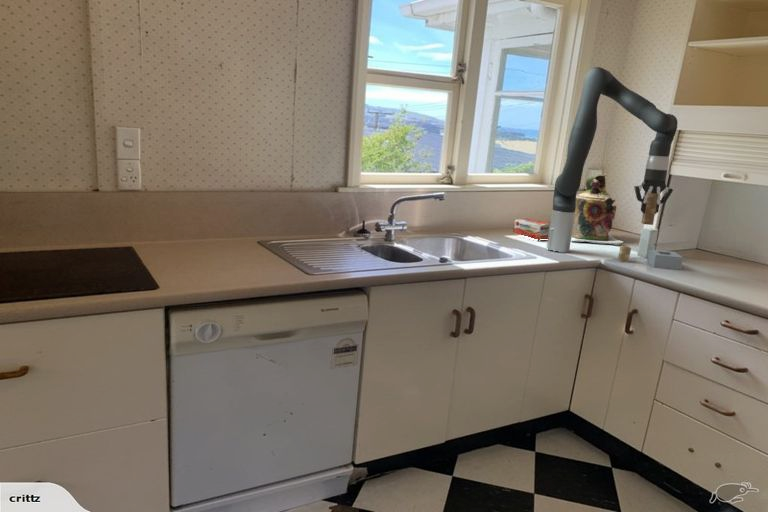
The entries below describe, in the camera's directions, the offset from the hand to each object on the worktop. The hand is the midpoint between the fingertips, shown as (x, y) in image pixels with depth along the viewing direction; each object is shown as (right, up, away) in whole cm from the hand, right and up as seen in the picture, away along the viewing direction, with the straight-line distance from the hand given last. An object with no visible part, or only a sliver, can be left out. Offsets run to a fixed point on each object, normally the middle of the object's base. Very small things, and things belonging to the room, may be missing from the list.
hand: (649, 213), depth 210 cm
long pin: (0, -4, +1) cm, 4 cm away
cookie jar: (-2, -9, +56) cm, 56 cm away
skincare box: (+11, -17, +25) cm, 32 cm away
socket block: (+11, -20, +10) cm, 25 cm away
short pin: (-4, -19, +14) cm, 23 cm away
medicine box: (-32, -8, +50) cm, 60 cm away
